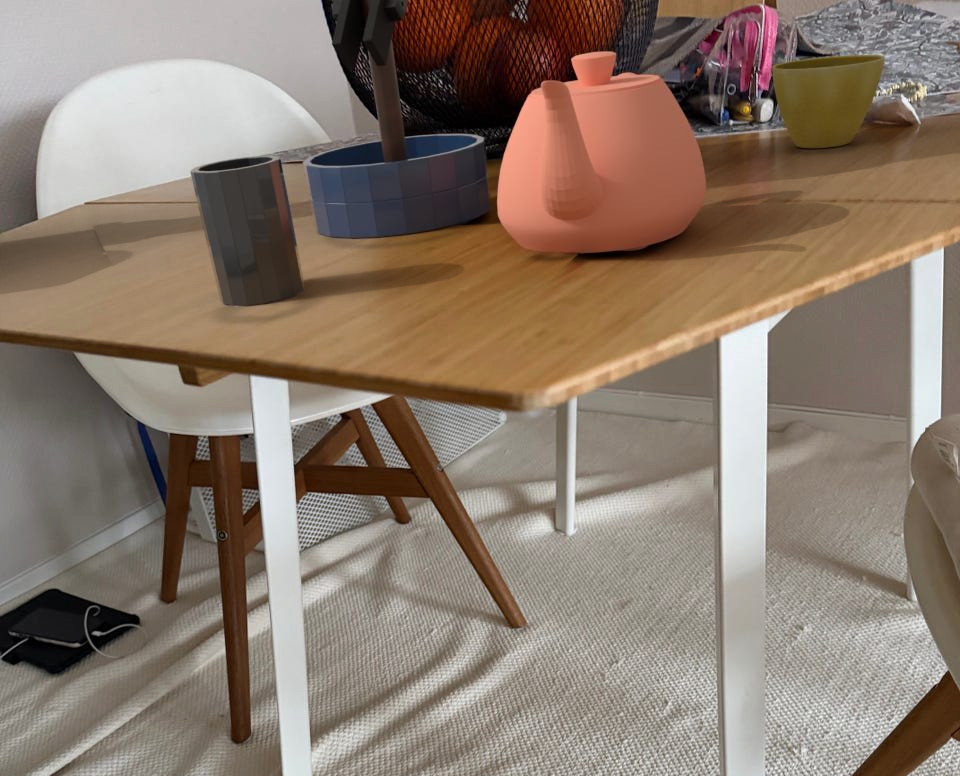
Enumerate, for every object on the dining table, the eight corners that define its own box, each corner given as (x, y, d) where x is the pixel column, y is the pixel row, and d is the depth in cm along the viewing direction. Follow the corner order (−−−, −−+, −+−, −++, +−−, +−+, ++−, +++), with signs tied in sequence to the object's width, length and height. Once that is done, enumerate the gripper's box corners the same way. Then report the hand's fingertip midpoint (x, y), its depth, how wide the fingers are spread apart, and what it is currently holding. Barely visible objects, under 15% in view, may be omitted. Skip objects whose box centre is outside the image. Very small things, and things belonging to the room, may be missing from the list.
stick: (382, 178, 92) (340, -107, 82) (392, 173, 94) (352, -107, 83) (404, 177, 91) (364, -111, 81) (413, 172, 93) (375, -111, 82)
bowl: (285, 248, 91) (270, 171, 88) (363, 209, 103) (353, 140, 100) (452, 242, 86) (442, 160, 83) (515, 202, 98) (508, 129, 95)
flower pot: (869, 131, 109) (875, 50, 105) (887, 147, 101) (894, 59, 97) (765, 141, 111) (768, 62, 107) (774, 157, 102) (777, 72, 99)
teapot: (672, 279, 69) (668, 62, 63) (452, 284, 74) (428, 84, 68) (727, 205, 86) (728, 28, 80) (545, 213, 92) (533, 48, 85)
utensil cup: (206, 315, 75) (173, 174, 70) (250, 291, 79) (221, 158, 74) (280, 314, 73) (250, 169, 68) (320, 290, 77) (295, 153, 72)
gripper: (514, -171, 90) (465, 80, 85) (351, -142, 95) (298, 96, 91) (484, -261, 83) (429, 7, 78) (311, -225, 88) (251, 29, 84)
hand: (359, 54), depth 85 cm, fingers closed on stick, 2 cm apart
